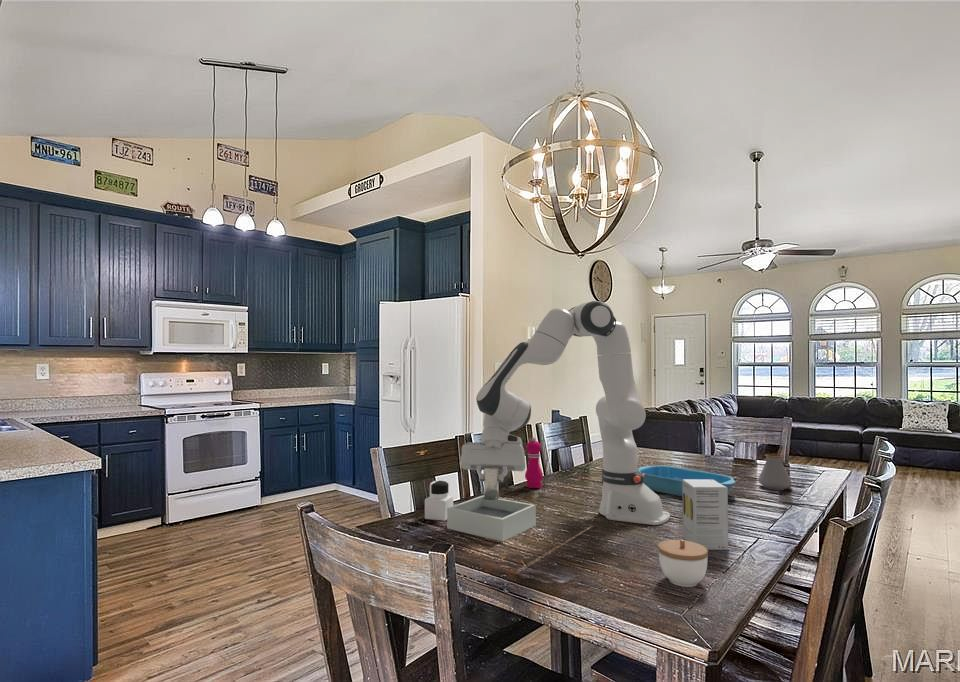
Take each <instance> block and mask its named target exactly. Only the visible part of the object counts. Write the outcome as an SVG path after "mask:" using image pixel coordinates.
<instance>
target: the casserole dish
mask: <svg viewBox="0 0 960 682" xmlns="http://www.w3.org/2000/svg"><path fill="white" fill-rule="evenodd" d="M637 470H638V471H639V472H640V473H641V474H645V475H644V476H645V477H643V483H644V484H645V485H646V486H647V487H649V488H650V489H651V490H652V491H653V492H659V493H664V494H669V495H674V496H678V497H681V498H683V491H682V480H683V479H710V480H715V481H717V482H718V483H720V484H722V485H724V486H726V487H727V488H728V493H729V492H730V491H731V488H732V486H733V485H735V484H736V480H734V477H732V476H729V475H725V474H720V473H715V472H714V473H713V472H710V471H709V472H708V471H702V470H695V469H689V468H684V467H677V466H671V465H645V466H641V467H637Z"/></svg>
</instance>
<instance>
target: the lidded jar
mask: <svg viewBox="0 0 960 682" xmlns="http://www.w3.org/2000/svg"><path fill="white" fill-rule="evenodd" d="M657 549H658V561H659V566H660V569H661V571H662V573H663V574H664V576H665V577H666V578H667V579H668V581H669V582H670V583H671V584H672V585H675V586H677V587H681V588H682V587H683V588H695V587H696V586H697V585H698V584H699V583H700V582H701V581H702V580H703V579H704V578H705V576H706V573H707V568H708V557H709V550H707V549H706V548H705V547H704V546H702V545H700V544H697V543H694V542H690V541H686V540H685V539H667V540H663V541H661V542H659V543H658V545H657Z"/></svg>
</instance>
